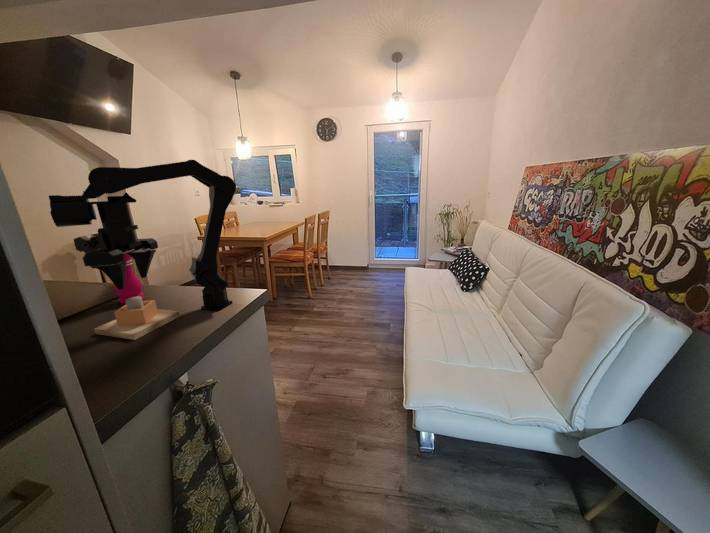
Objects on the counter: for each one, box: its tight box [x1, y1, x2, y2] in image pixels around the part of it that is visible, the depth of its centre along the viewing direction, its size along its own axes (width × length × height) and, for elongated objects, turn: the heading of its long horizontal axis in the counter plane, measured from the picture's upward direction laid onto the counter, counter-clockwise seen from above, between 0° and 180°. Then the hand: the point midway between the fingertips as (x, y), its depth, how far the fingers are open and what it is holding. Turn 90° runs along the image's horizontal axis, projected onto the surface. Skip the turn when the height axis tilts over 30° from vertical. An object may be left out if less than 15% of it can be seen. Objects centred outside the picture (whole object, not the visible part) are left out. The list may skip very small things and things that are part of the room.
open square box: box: [113, 299, 158, 326], centre depth 74 cm, size 6×6×4 cm
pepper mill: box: [114, 251, 145, 305], centre depth 89 cm, size 7×7×20 cm
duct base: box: [94, 296, 181, 341], centre depth 74 cm, size 13×13×8 cm
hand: (133, 283), depth 71 cm, fingers open, 9 cm apart
